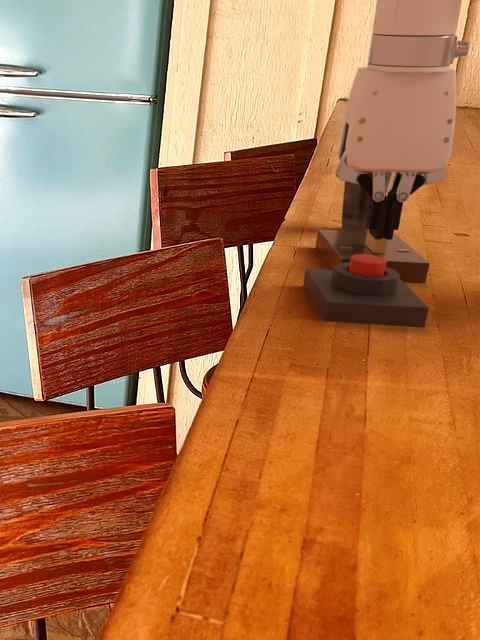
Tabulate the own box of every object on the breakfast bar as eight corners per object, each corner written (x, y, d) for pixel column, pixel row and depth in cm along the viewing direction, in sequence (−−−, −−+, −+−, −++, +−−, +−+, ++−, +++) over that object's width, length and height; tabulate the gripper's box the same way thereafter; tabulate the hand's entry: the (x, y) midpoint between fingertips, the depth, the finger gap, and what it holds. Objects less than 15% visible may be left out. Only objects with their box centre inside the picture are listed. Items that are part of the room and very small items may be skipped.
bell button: (378, 270, 97) (381, 255, 96) (387, 280, 94) (391, 264, 93) (344, 268, 98) (347, 253, 97) (352, 278, 94) (355, 262, 94)
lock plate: (392, 251, 118) (395, 232, 117) (425, 283, 105) (430, 261, 104) (314, 247, 119) (318, 228, 118) (338, 278, 106) (342, 257, 105)
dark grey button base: (391, 291, 102) (398, 258, 101) (424, 327, 91) (433, 290, 90) (302, 286, 103) (308, 253, 102) (324, 321, 92) (331, 284, 91)
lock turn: (364, 244, 111) (371, 207, 109) (376, 245, 111) (383, 207, 109) (373, 253, 108) (380, 214, 106) (385, 253, 107) (392, 215, 106)
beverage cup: (390, 231, 128) (418, 87, 121) (378, 241, 123) (407, 91, 115) (338, 223, 132) (363, 83, 124) (325, 233, 126) (349, 87, 119)
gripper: (475, 51, 90) (442, 229, 97) (323, 52, 91) (301, 226, 98) (505, 57, 83) (466, 247, 90) (339, 57, 84) (314, 244, 92)
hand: (380, 236), depth 94 cm, fingers closed
